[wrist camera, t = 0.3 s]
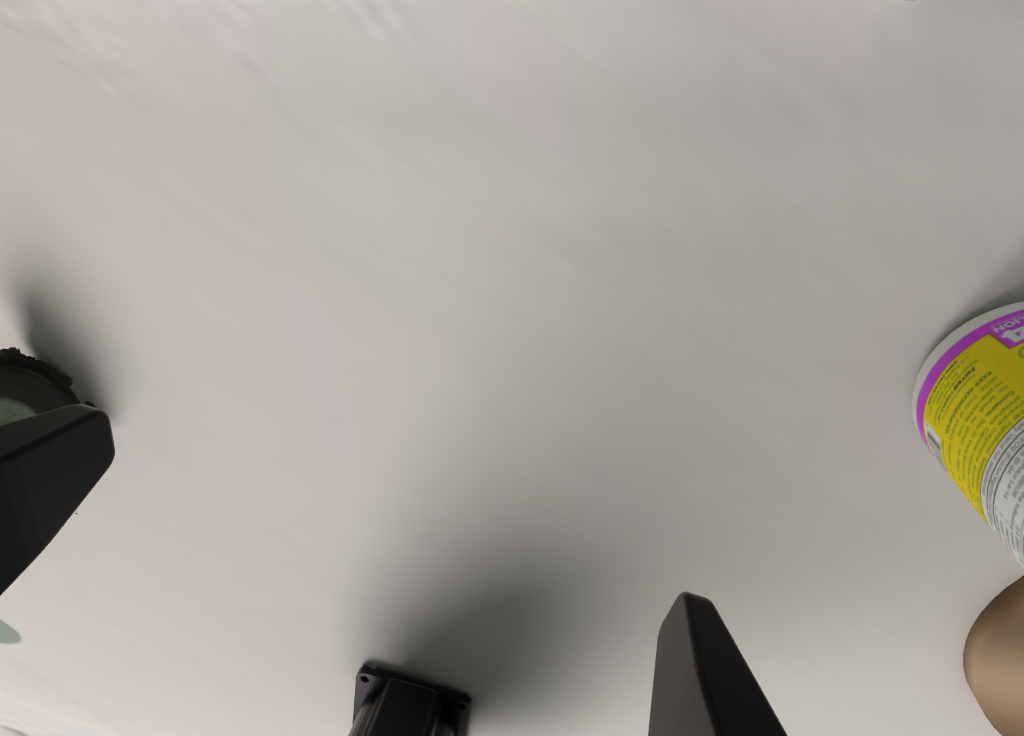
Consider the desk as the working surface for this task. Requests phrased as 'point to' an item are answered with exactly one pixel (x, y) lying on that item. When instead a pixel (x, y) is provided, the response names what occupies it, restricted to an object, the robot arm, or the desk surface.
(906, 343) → the desk surface
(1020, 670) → the brown rimmed plate
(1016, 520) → the supplement bottle
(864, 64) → the desk surface
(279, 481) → the desk surface
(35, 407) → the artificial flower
